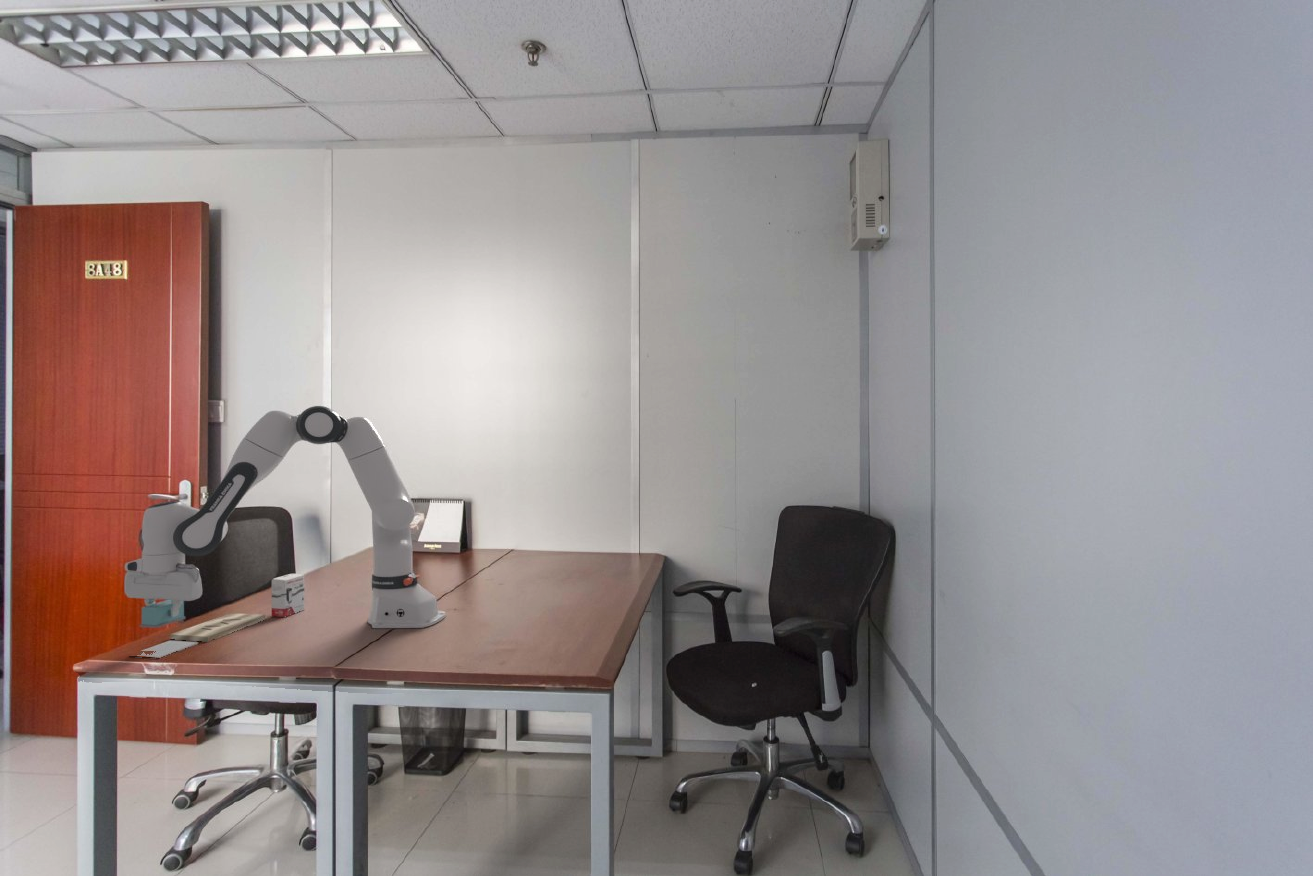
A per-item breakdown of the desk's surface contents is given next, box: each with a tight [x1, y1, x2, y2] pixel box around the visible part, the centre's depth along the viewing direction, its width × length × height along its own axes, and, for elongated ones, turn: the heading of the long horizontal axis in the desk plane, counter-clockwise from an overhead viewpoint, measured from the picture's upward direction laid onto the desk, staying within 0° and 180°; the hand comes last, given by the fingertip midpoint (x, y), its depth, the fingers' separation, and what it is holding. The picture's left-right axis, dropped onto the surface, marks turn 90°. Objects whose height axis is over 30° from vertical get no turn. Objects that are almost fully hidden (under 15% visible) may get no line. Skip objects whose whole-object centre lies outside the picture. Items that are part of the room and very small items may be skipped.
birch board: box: [169, 612, 266, 643], centre depth 177 cm, size 12×20×2 cm, turn 171°
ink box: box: [271, 573, 306, 618], centre depth 193 cm, size 9×5×12 cm, turn 168°
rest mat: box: [137, 639, 199, 659], centre depth 160 cm, size 9×11×1 cm
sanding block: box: [139, 600, 186, 629], centre depth 160 cm, size 5×8×5 cm, turn 171°
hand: (163, 615), depth 160 cm, fingers closed on sanding block, 4 cm apart
